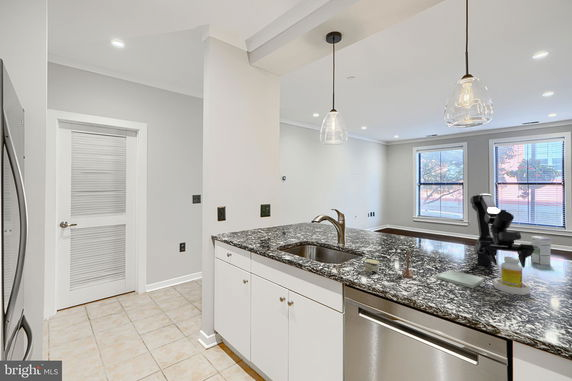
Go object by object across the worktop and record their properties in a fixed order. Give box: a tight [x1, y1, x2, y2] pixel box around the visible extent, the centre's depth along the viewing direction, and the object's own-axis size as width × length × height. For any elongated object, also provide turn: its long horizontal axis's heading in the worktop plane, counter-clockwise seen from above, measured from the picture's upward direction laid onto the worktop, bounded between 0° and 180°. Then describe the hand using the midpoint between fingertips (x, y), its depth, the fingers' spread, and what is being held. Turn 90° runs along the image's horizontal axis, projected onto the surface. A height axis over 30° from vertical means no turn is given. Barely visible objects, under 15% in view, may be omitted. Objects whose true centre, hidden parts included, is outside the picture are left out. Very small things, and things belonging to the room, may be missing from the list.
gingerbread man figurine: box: [402, 249, 414, 280], centre depth 123 cm, size 9×4×12 cm, turn 159°
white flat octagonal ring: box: [492, 277, 531, 296], centre depth 107 cm, size 11×11×2 cm
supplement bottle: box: [500, 256, 523, 288], centre depth 107 cm, size 7×7×13 cm
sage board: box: [436, 269, 485, 289], centre depth 118 cm, size 14×14×1 cm
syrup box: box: [530, 235, 552, 266], centre depth 143 cm, size 6×6×14 cm
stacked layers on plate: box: [363, 258, 380, 273], centre depth 128 cm, size 10×9×6 cm
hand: (509, 265), depth 109 cm, fingers open, 9 cm apart
